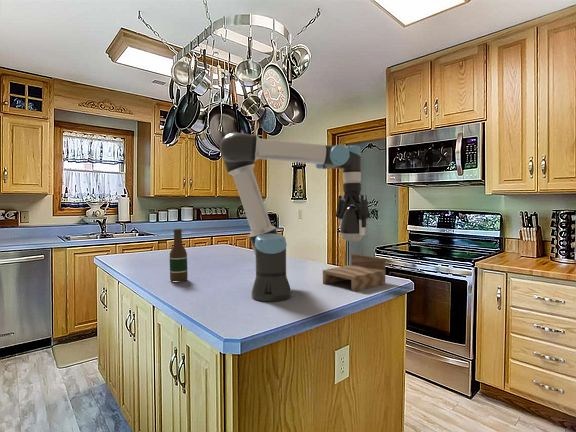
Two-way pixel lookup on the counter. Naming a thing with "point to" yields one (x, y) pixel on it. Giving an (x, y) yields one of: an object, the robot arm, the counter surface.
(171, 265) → the beer bottle
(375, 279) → the walnut shelf
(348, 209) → the dark grey egg shape
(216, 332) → the counter surface
